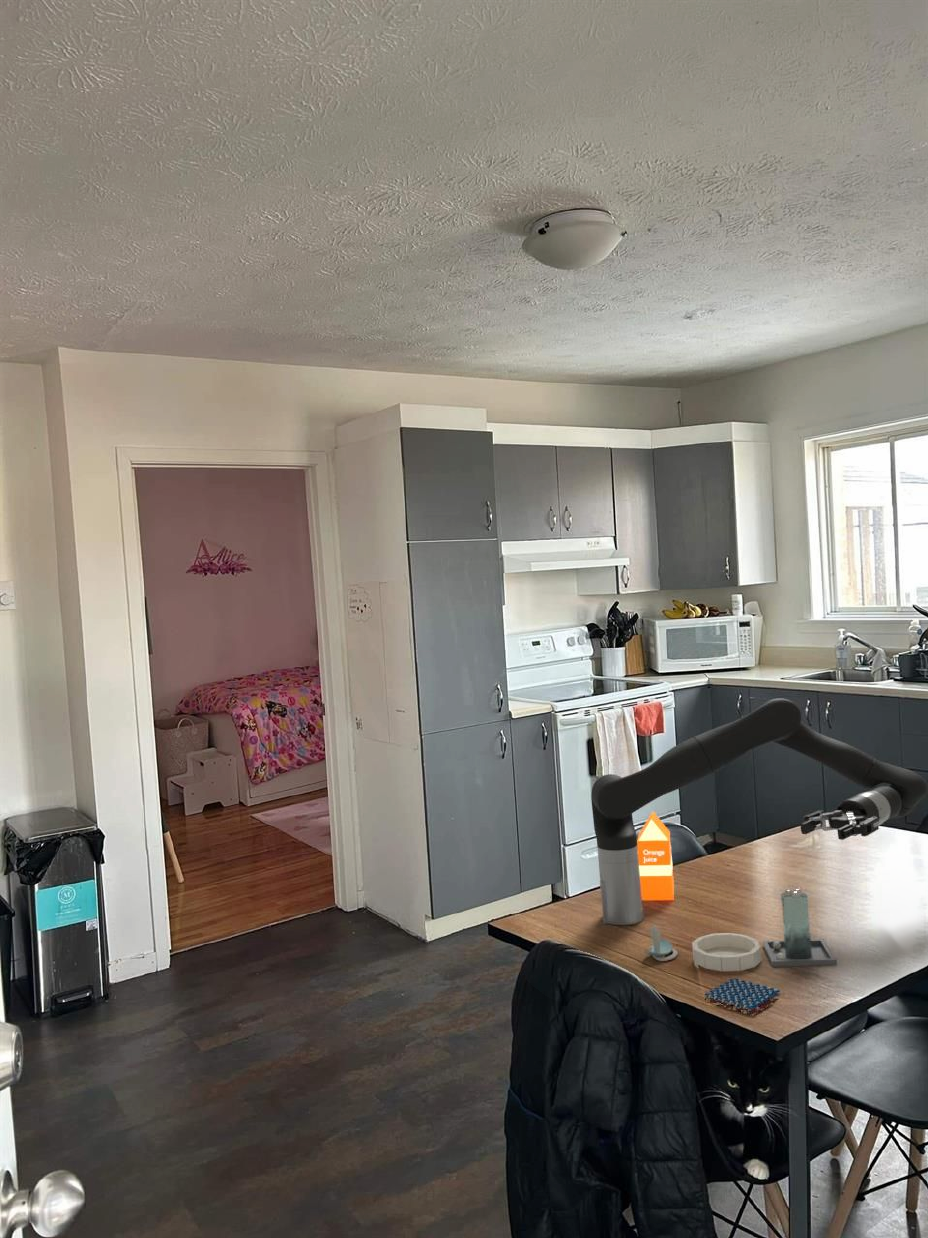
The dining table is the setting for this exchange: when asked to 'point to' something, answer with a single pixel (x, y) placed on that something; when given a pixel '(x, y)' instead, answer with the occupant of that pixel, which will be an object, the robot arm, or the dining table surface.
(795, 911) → the teal cylinder
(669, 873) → the orange juice
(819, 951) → the parts tray
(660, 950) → the pacifier
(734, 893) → the dining table surface
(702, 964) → the bowl
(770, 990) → the woven mat
